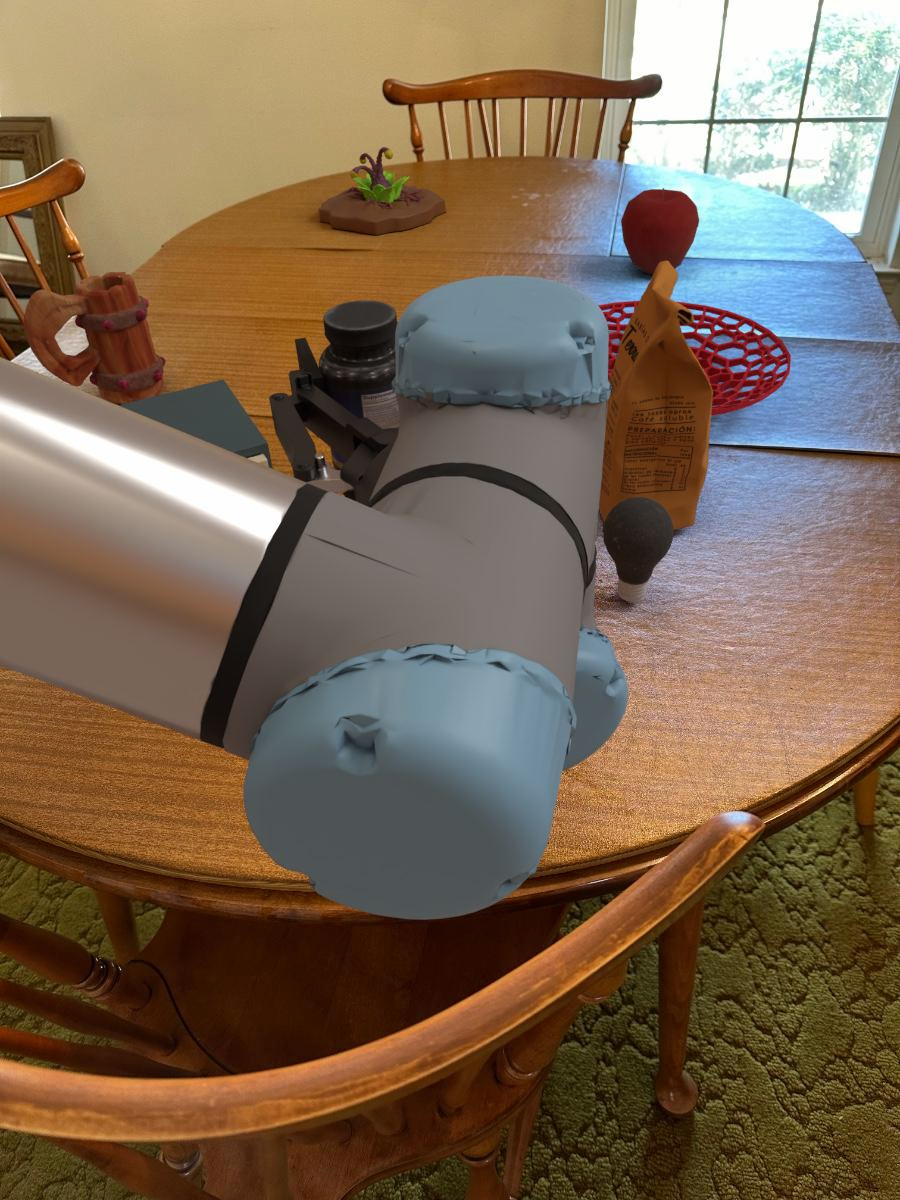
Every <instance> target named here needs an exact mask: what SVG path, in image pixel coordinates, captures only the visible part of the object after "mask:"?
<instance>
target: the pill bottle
mask: <svg viewBox="0 0 900 1200" xmlns="http://www.w3.org/2000/svg"><path fill="white" fill-rule="evenodd" d="M322 318H323V319H322V320H323V322H322V323H323V329H324V331H323V332H324V337H325V338H326V340H327V341H328V342H329V344H328V345H327V346H326V347H325V348H324V349H323V351H322V352H321V354H320V356H319V360H318V367H319V369H320V371H321V374H322V376H323V380H324V387H325V394H327V395H328V396H329V397H331V398H332V399H333V400H335V401H336V402H337V403H339V404H340V405H341V406H343V407H344V408H345V409H347V410H348V411H349V412H351V413H352V414H353V415H355V416H356V417H358V418H359V419H361V418H364V417H367V418H368V419H370V420H371V421H372V422H374V423H375V424H376V425H378V426H379V427H380V428H382V429H387V428H399V423H400V412H399V407H398V401H397V396H396V393H395V392H393V389H392V381H393V379H394V378H395V376H396V353H395V332H396V327H397V322H398V317H397V311H396V309H395V308H394V307H393V306H392V305H391V304H389V303H386V302H383V301H378V300H365V299H363V300H361V299H360V300H353V301H347V302H343V303H339V304H337V305H335V306H332V307H330V308H329V309H328V310H326V312H325V313H324V314H323V317H322ZM329 448H330V454H331V455H330V456H331V461H332V466H333V469H335V470H341V468H342V466H343V465H344V463H345V462H346V461H347V460H346V459H344V458H343V457H342V456H341V455H339V454H338V453H337V452H336V451H335V450H333V449H332V448H331V447H330V446H329Z"/></svg>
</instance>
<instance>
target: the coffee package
mask: <svg viewBox="0 0 900 1200" xmlns="http://www.w3.org/2000/svg"><path fill="white" fill-rule="evenodd" d="M678 278H679V272H678V270H676V268H675V269H674V267H673V266H672V265H671V264H670V263H669V261H663V262H660V263H659V264H658V265H657V267H656V269H655V272H654V274H652V276H651V279H650V281H649V282H648V284H647V286H646V288H645V290H644V291H643V294H642V295H641V296H640V300H638V301H639V304H638V306H637V308H636V310H635V312H634V311H633V312H634V313H633V312H632V313H633V315H632V317H631V318H630V319H629V320H628V323H626V324H627V327H626V329H625V331H623V337H622V340H620V343H619V344H620V345H619V351H618V354H616V361H615V365H614V368H613V371H612V374H611V377H610V380H609V383H610V384H611V386H612V388H611V389H610V398H609V399H608V404H607V417H606V429H605V442H604V454H603V467H602V479H601V490H600V501H599V513H600V516H601V519H602V522H603V523H604V522H605V520H606V518H607V515H608V514H609V512H610V511H611V510H612V509H613V507H615V506H616V505H617V504H618V503H620V502H622V501H624V500H626V499H628V498H632V497H645V498H650V499H652V500H654V501H656V502H658V503H659V504H661V505H662V506H663V507H664V508H665V509H666V511H667V512H668V513H669V515H670V517H671V520H672V523H673V531H676V530H680V529H684V528H690V527H694V525H695V523H696V522H695V521H696V515H697V514H696V513H697V509H698V501H699V499H700V496H701V493H702V490H703V487H704V485H705V482H706V478H707V474H708V469H709V468H708V467H709V450H710V436H711V426H712V425H711V423H712V416H711V412H712V407H713V406H712V396H713V390H712V387H711V385H710V382H709V380H708V378H707V376H706V374H705V372H704V370H703V368H702V367H701V365H700V363H699V361H698V360H697V358H696V356H695V355H694V353H693V351H692V350H691V348H690V347H689V346H690V345H689V344H688V342H687V339H685V338H684V336H683V333H684V332H683V330H682V328H681V326H680V324H685V325H688V324H691V323H693V322H695V321H694V318H693V315H694V314H693V312H692V310H691V309H687V308H686V307H684V306H682V305H681V304H679V303H677V302H678V301H676V300H673V299H672V298H671V297H672V295H673V293H674V288H675V286H676V284H677V282H678Z"/></svg>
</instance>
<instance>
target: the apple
mask: <svg viewBox="0 0 900 1200" xmlns="http://www.w3.org/2000/svg"><path fill="white" fill-rule="evenodd" d="M620 224H621V233H622V240H623V241H622V242H623V245H624V246H625V249H626V251H627V254H628V256H629V259H630V261H631V263H632V265H634V266H635V267H637V268H638V269H639V270H641V271H642V272H644V273H645V274H648V275H653V274H654V272H655V269H656V267H657V265H658V264H659V263H660V262H663V261H669V263H670V264H671V265H672V266H673V267H674V269H675V270H676V269H677V268H678V267H679V266H681V265H682V263H683V262H684V259H685V258H686V256H687V254H688V253H689V251H690V249H691V247H692V245H693V243H695V238H696V235H697V231H698V227H699V224H700V217H699V212H698V207H697V205H696V203H695V202H694V201H693V200H692V199H691V198H690V196H689V195H688V194H687V193H684V192H683V191H681V190H674V189H665V188H664V187H662V189H661V188H651V189H646V190H643V191H641V192H639V193H638V194H637V195H635V196H634V197H633V198H632V199H630V200H628V201H627V204H626V206H625V209H624V211H623V213H622V216H621V220H620Z"/></svg>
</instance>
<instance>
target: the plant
mask: <svg viewBox="0 0 900 1200" xmlns="http://www.w3.org/2000/svg"><path fill="white" fill-rule="evenodd" d="M383 155H384V157H385V158H386V159H387V160H392V159H393V157H394V152H393V151H392V149H390V148H389V147H386V146H382V147H381V148H380V149H379V150H378V153H377V156H376V160H375V159H374V158H373V157H372V156H371V155H370V154H368V153H367V152H364V153H362V154H360V156H359V163H360V164H362V165H358V166H356V167H354V168H352V169H351V170H350V171H349V175H350V178H351V179H352V180H353V181H354V182H355V183H357V185H358V186H352V187H349V188H348V189H345V190H344V191H341V192H340V193H338V194H337V195H335V196H332V197H330V198H328V199H327V200H325V201H324V202H323V203H321V206H320V207H319V208H318V215H319V222H320V223H327V224H329V225H331V228H332V229H335V230H341V231H348V232H355V233H360V234H365V235H371V236H379V235H385V234H390V233H395V232H404V231H409V230H412V229H414V228H417V227H420V226H424V225H427V224H429V223H431V221H432V220H433V219H434V218H435V217H437V216H440V215H442V214H445V213H446V212H447V211H446V200H445V198H443V197H441V196H440V195H438V194H437V193H435V192H434V191H432V190H431V189H430V188H429V189H428V188H418V187H417V186H416V185H415V186H414V185H413V186H412V185H406V184H405V183H406V182H408V180H409V178H410V175H405V176H402V177H401V178H399V179H398V180H397V181H395V171H391V172H390V173H389V172H388V171H387V170H384V168H383V162H382V161H383V159H382V158H383ZM367 161H368V162H369V165H370V166H371V169H370V167H368V166H367V165H364V164H366V163H367ZM360 170H364V171H366V174H365V179H366V180H365V179H364V178H362V177H358V176H359V171H360Z"/></svg>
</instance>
